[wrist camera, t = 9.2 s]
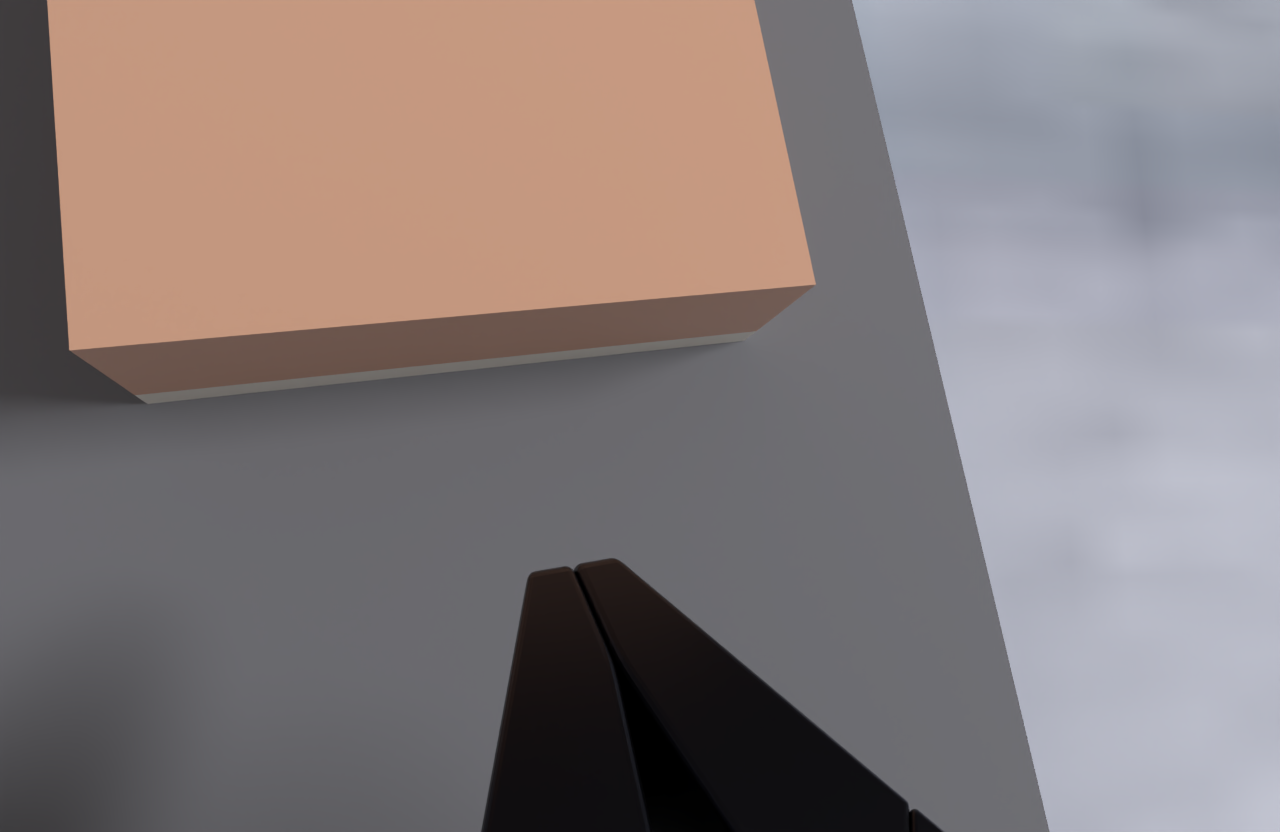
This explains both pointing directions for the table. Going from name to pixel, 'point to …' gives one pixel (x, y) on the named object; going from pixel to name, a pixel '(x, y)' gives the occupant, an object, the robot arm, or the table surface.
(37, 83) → the mat
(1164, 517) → the table surface
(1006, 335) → the table surface
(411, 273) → the tile
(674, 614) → the robot arm
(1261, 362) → the table surface
